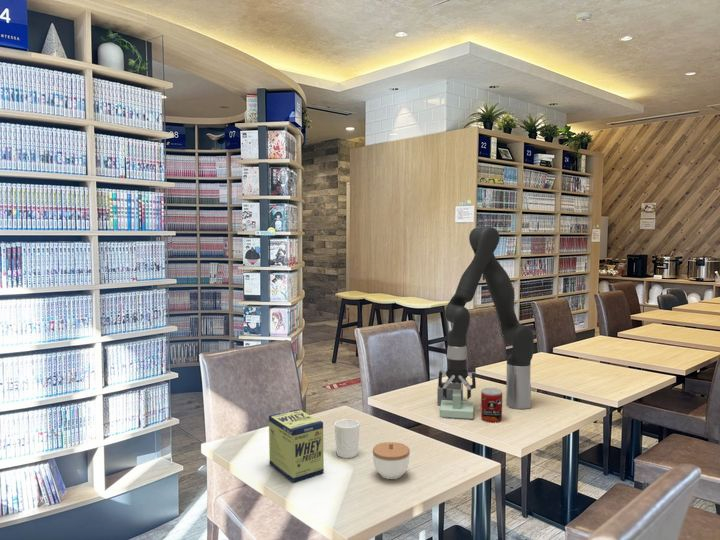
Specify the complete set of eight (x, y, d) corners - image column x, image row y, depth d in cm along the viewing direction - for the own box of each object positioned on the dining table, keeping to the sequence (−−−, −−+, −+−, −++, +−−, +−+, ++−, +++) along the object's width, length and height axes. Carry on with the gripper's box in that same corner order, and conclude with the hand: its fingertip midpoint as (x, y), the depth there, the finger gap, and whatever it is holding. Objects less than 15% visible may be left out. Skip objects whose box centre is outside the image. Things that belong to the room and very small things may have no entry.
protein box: (293, 483, 150) (292, 429, 149) (268, 464, 163) (267, 414, 162) (324, 473, 156) (324, 421, 155) (298, 456, 169) (297, 408, 168)
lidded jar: (365, 475, 155) (364, 443, 154) (390, 463, 162) (390, 433, 162) (392, 487, 147) (392, 454, 147) (417, 474, 155) (417, 443, 154)
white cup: (331, 451, 172) (331, 420, 172) (354, 447, 175) (354, 417, 174) (339, 460, 165) (339, 429, 164) (363, 456, 168) (363, 425, 167)
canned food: (480, 422, 197) (481, 393, 197) (481, 415, 205) (481, 386, 204) (502, 423, 196) (502, 394, 195) (501, 416, 203) (502, 388, 203)
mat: (472, 409, 212) (472, 408, 212) (472, 419, 200) (472, 418, 200) (442, 407, 214) (442, 406, 214) (440, 417, 202) (440, 416, 202)
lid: (473, 408, 212) (473, 389, 211) (473, 418, 200) (473, 398, 199) (441, 406, 214) (441, 387, 214) (439, 416, 202) (439, 397, 202)
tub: (462, 399, 224) (463, 383, 224) (462, 407, 214) (462, 390, 214) (439, 398, 226) (439, 382, 226) (437, 405, 216) (437, 388, 216)
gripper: (475, 355, 208) (475, 396, 209) (439, 354, 211) (438, 394, 212) (475, 359, 200) (475, 402, 201) (437, 358, 203) (437, 400, 204)
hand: (456, 398), depth 207 cm, fingers open, 8 cm apart
